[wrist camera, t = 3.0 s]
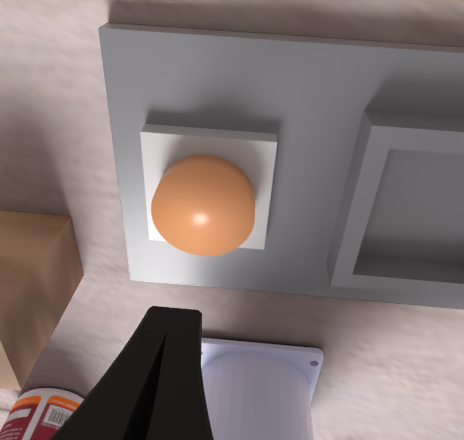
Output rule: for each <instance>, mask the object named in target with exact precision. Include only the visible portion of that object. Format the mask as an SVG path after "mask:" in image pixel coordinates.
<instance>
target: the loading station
mask: <svg viewBox="0 0 464 440" xmlns="http://www.w3.org/2000/svg"><path fill="white" fill-rule="evenodd" d="M99 36H100V44H101V52H102V60H103V68H104V76H105V83H106V91H107V99H108V107H109V115H110V123H111V131H112V139H113V147H114V155H115V163H116V170H117V178H118V186H119V194H120V202H121V210H122V218H123V226H124V234H125V242H126V250H127V258H128V265H129V273H130V280H136V281H147V282H158V283H170V284H181V285H192V286H204V287H215V288H227V289H238V290H249V291H261V292H272V293H283V294H295V295H306V296H317V297H329V298H340V299H352V300H363V301H374V302H386V303H397V304H408V305H420V306H431V307H442V308H454V309H464V47H452V46H438V45H423V44H409V43H394V42H380V41H365V40H351V39H336V38H322V37H307V36H293V35H278V34H264V33H249V32H235V31H220V30H206V29H191V28H177V27H162V26H148V25H133V24H119V23H106V24H105V25H103V26H101V27H99ZM194 155H211V156H216V157H220V158H223V159H225V160H228V161H229V162H231V163H233V164H235V165H236V166H237V167H239V168H240V169H241V170H242V171H243V172H244V173H245V174H246V175H247V177H248V178H249V180H250V181H251V183H252V186H253V188H254V192H255V221H254V226H253V229H252V232H251V233H250V235H249V237H248V238H247V239H246V241H245V242H244V243H243V244H242V245H240V246H239V247H238V248H236V249H234V250H233V251H230V252H228V253H225V254H222V255H217V256H198V255H193V254H189V253H186V252H183V251H181V250H179V249H177V248H175V247H174V246H172V245H171V244H170V243H168V242H167V241H166V240H165V239H164V238H163V237H162V236H161V235H160V234H159V232H158V231H157V229H156V227H155V225H154V223H153V220H152V216H151V203H152V199H153V196H154V193H155V191H156V189H157V186H158V184H159V182H160V180H161V178H162V176H163V174H164V173H165V171H166V170H167V169H168V168H169V167H170V166H171V165H173V164H174V163H175V162H177V161H179V160H181V159H183V158H186V157H190V156H194Z"/></svg>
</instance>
